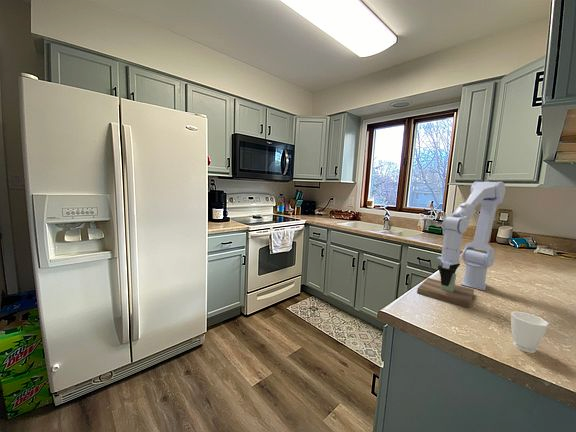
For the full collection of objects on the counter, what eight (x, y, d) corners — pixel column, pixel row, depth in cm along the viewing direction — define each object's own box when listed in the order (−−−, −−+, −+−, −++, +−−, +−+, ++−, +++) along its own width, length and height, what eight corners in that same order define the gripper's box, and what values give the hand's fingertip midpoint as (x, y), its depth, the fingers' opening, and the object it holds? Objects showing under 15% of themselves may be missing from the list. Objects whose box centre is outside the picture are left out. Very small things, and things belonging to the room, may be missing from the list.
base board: (427, 282, 105) (427, 277, 105) (473, 294, 94) (474, 289, 94) (417, 292, 93) (417, 287, 93) (468, 308, 82) (469, 302, 82)
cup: (507, 348, 62) (512, 318, 61) (502, 330, 70) (507, 304, 69) (547, 361, 57) (553, 329, 56) (536, 340, 66) (542, 312, 65)
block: (442, 286, 96) (444, 271, 95) (454, 289, 93) (456, 274, 93) (440, 288, 93) (442, 273, 92) (452, 292, 90) (454, 276, 90)
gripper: (442, 243, 100) (438, 275, 101) (435, 248, 89) (430, 284, 90) (463, 246, 95) (459, 280, 96) (458, 253, 84) (453, 290, 86)
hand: (446, 282), depth 93 cm, fingers open, 7 cm apart
